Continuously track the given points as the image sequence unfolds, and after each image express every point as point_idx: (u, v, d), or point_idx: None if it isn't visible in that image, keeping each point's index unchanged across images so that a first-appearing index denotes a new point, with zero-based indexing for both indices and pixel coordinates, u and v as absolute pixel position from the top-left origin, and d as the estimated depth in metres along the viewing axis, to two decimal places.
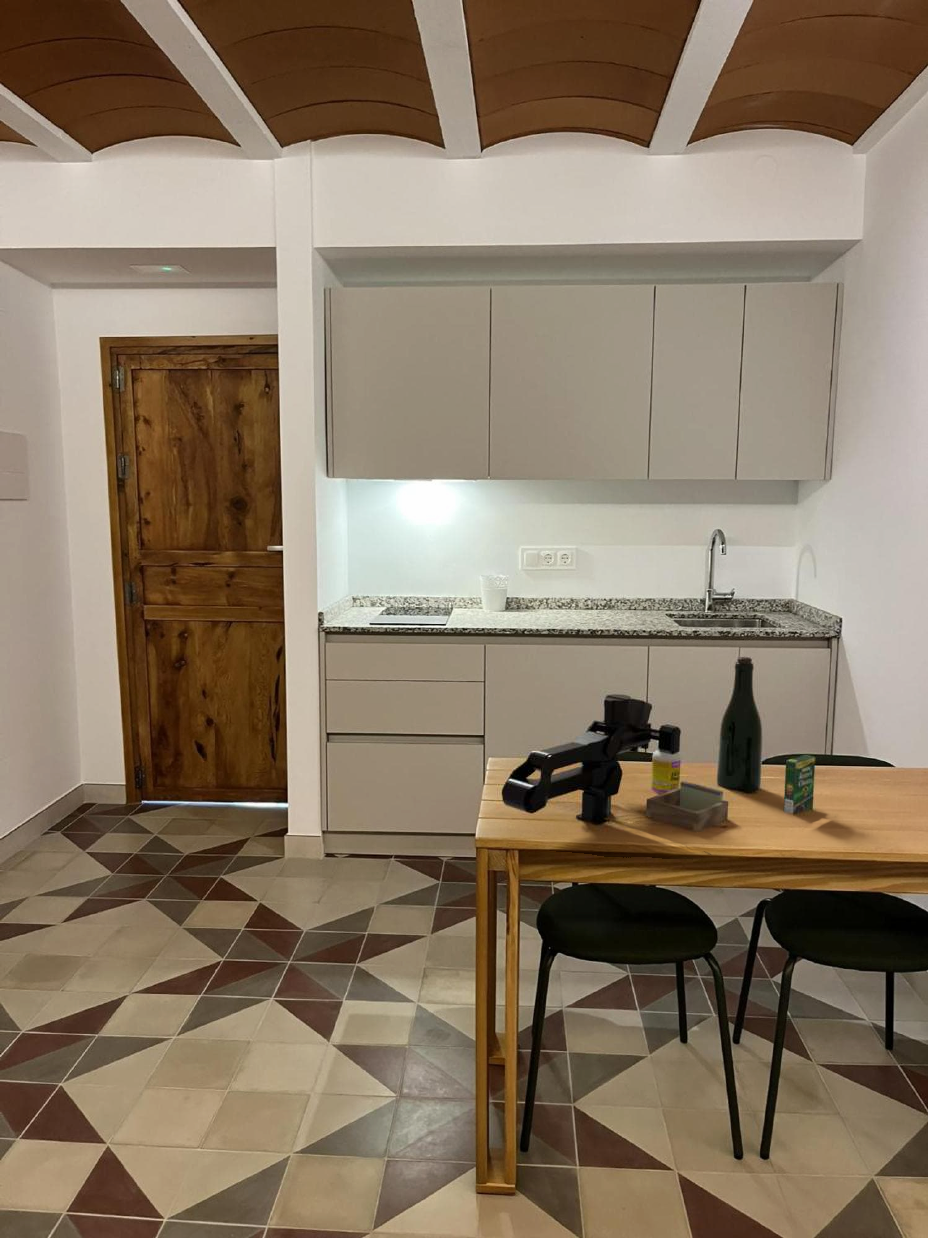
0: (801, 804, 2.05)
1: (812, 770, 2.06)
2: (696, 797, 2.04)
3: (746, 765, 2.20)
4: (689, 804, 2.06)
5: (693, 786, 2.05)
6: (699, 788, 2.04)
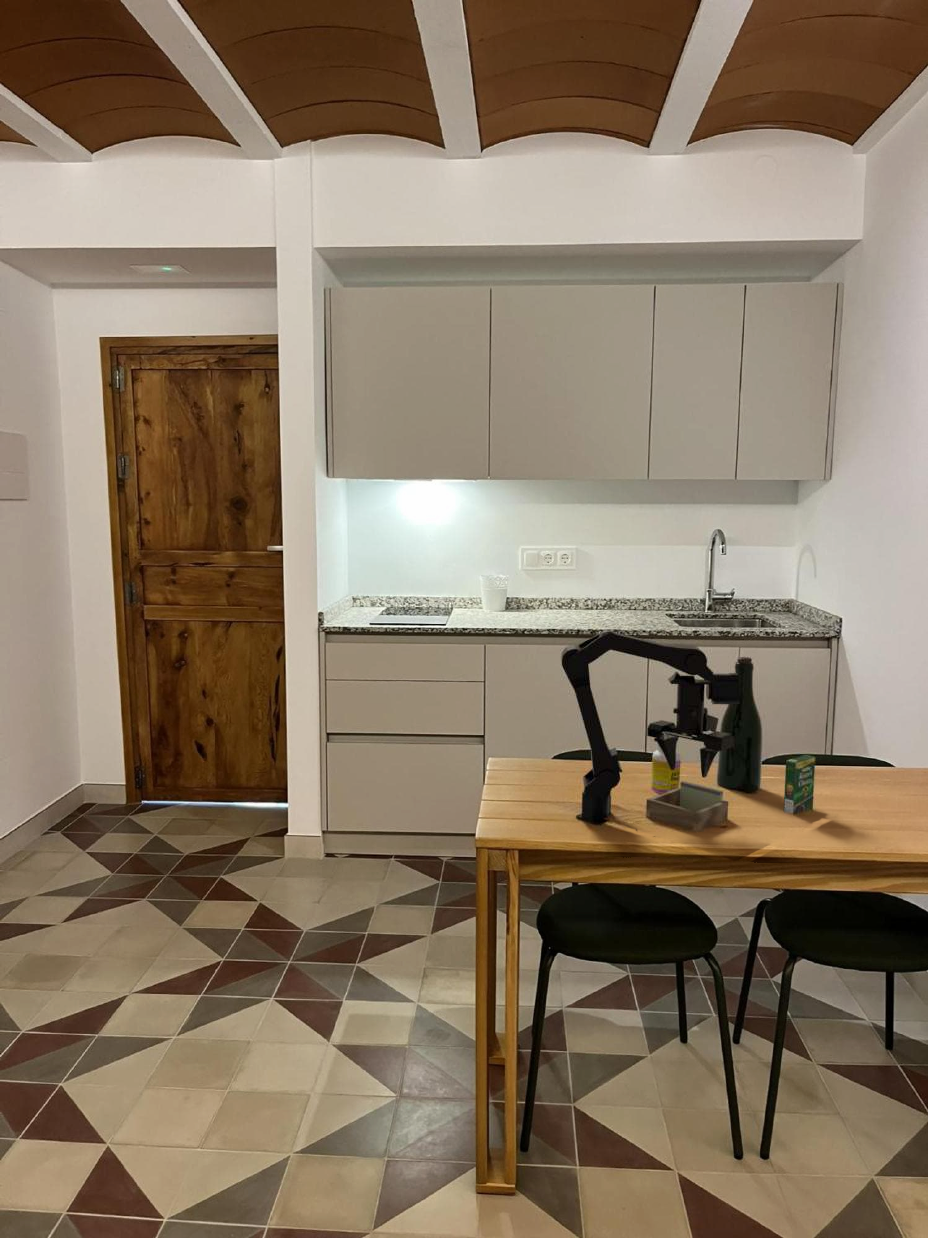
0: (801, 804, 2.05)
1: (812, 770, 2.06)
2: (696, 797, 2.04)
3: (746, 765, 2.20)
4: (689, 804, 2.06)
5: (693, 786, 2.05)
6: (699, 788, 2.04)
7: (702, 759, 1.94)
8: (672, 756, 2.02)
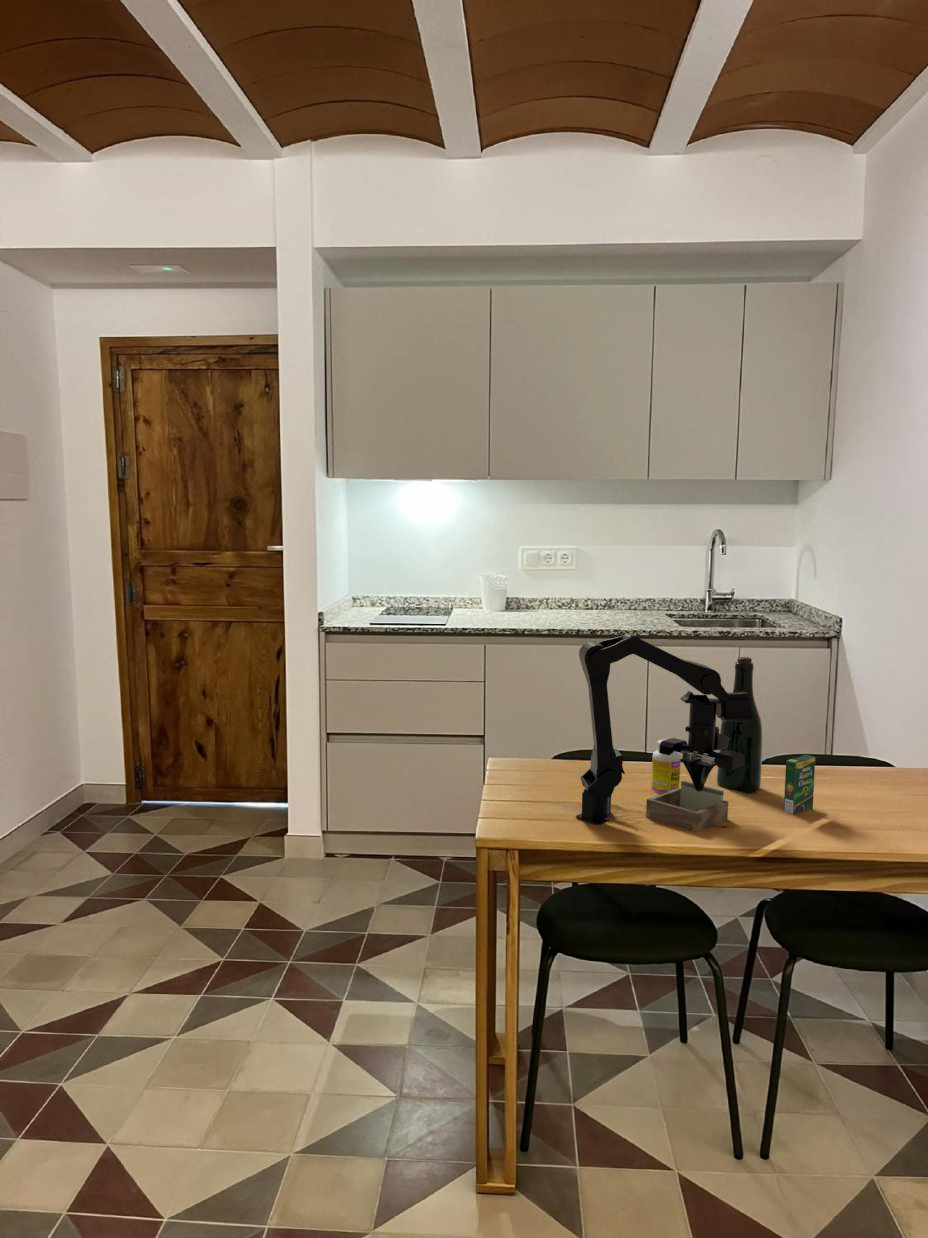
0: (801, 804, 2.05)
1: (812, 770, 2.06)
2: (696, 797, 2.04)
3: (746, 765, 2.20)
4: (689, 803, 2.06)
5: (694, 786, 2.05)
6: None
7: (698, 773, 2.00)
8: None
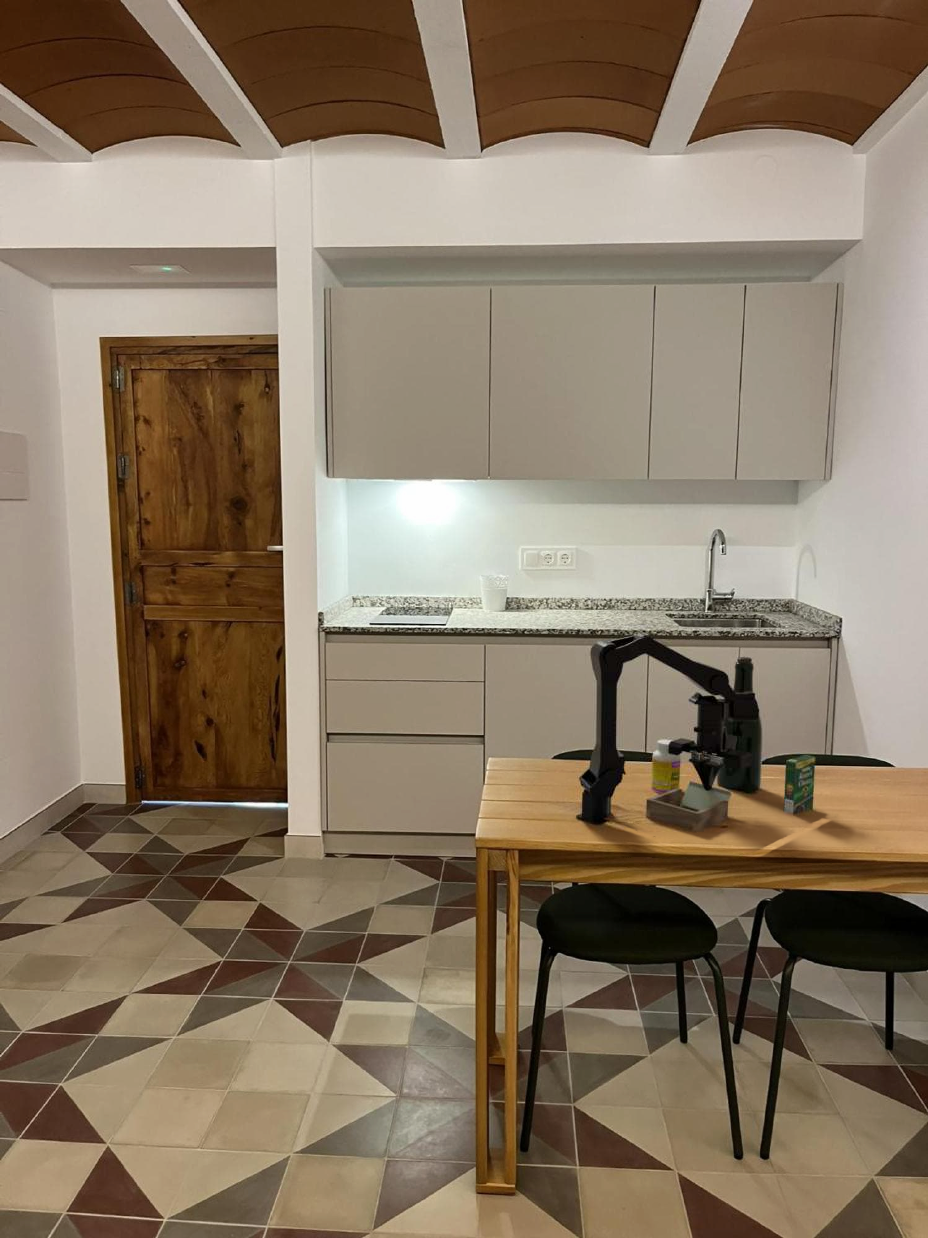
0: (801, 804, 2.05)
1: (812, 770, 2.06)
2: (702, 796, 2.06)
3: None
4: (692, 801, 2.07)
5: (702, 785, 2.07)
6: None
7: (706, 773, 2.03)
8: None
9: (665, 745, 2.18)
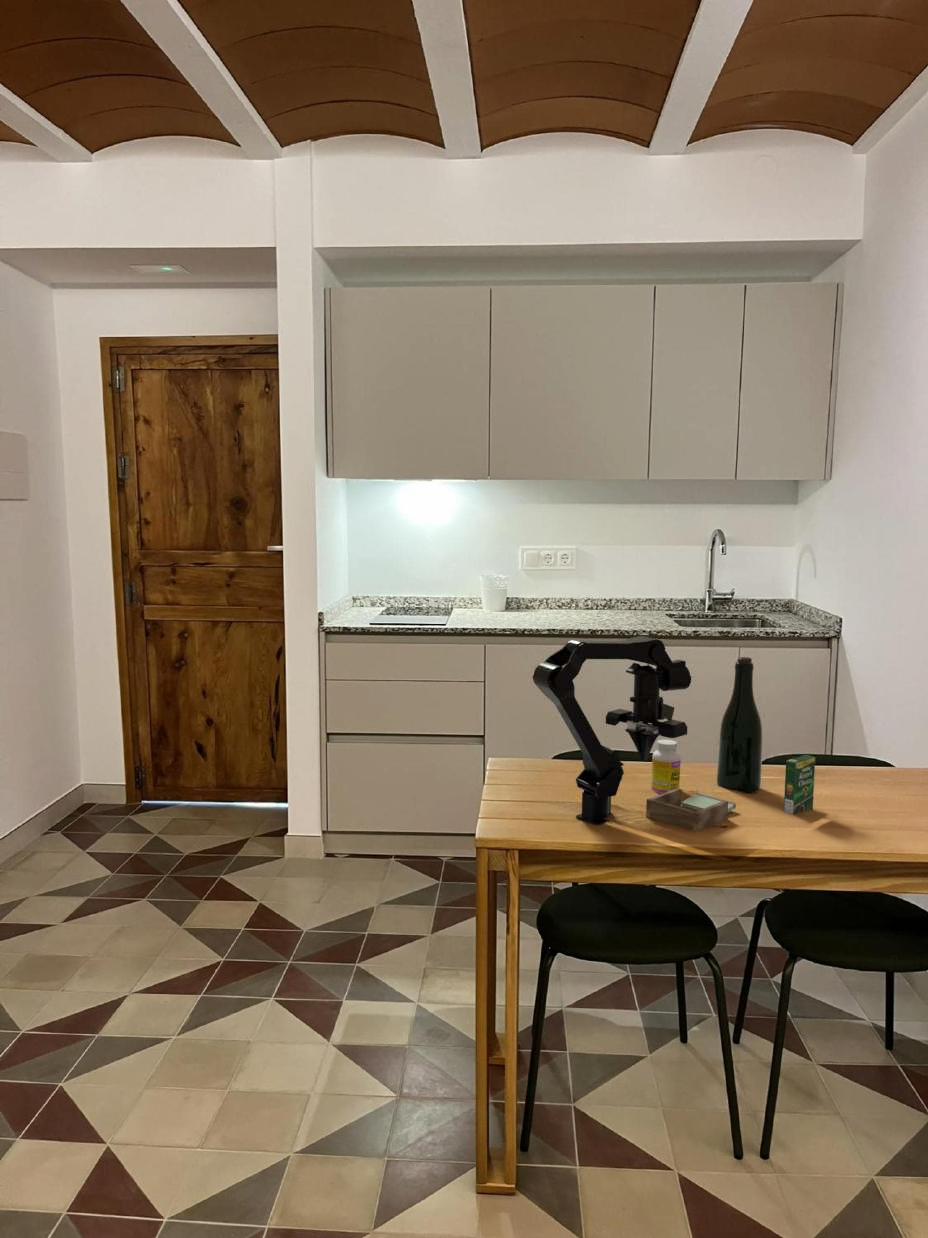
0: (801, 804, 2.05)
1: (812, 770, 2.06)
2: (706, 801, 2.07)
3: (746, 765, 2.20)
4: (694, 802, 2.07)
5: (708, 796, 2.10)
6: (714, 798, 2.08)
7: (642, 743, 2.04)
8: None
9: (665, 745, 2.18)
